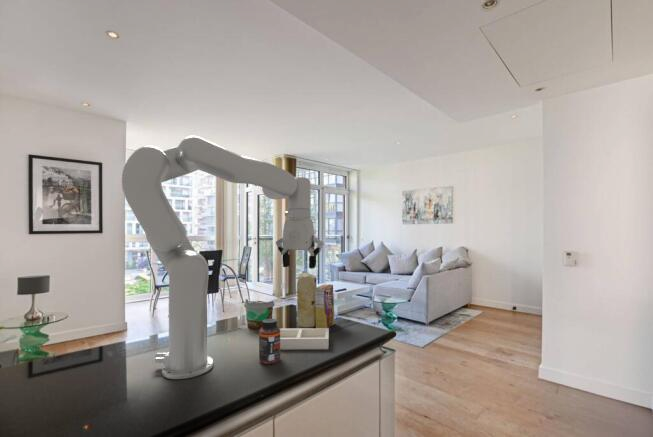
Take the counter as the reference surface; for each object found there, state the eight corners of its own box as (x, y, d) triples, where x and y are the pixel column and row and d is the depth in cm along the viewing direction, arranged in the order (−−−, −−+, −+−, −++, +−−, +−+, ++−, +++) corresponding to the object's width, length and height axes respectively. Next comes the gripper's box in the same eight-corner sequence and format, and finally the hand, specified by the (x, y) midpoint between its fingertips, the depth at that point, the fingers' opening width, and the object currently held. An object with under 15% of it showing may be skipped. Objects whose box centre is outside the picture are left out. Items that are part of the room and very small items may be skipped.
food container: (237, 329, 117) (237, 302, 117) (246, 324, 122) (246, 298, 123) (267, 332, 113) (267, 304, 113) (274, 326, 119) (274, 300, 119)
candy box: (324, 322, 123) (324, 283, 124) (334, 323, 121) (334, 284, 122) (314, 329, 115) (314, 287, 116) (325, 330, 113) (324, 288, 114)
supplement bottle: (277, 365, 85) (277, 323, 86) (256, 364, 86) (256, 323, 86) (282, 356, 91) (282, 317, 92) (262, 356, 92) (262, 317, 92)
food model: (321, 326, 118) (321, 273, 119) (308, 330, 114) (307, 275, 114) (305, 321, 125) (305, 271, 126) (292, 325, 121) (291, 273, 121)
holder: (267, 349, 97) (267, 339, 97) (273, 338, 107) (273, 328, 107) (328, 349, 96) (328, 338, 96) (328, 337, 106) (328, 328, 106)
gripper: (270, 215, 103) (270, 267, 102) (317, 214, 96) (317, 270, 95) (282, 216, 110) (282, 265, 109) (327, 215, 103) (327, 267, 102)
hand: (299, 267), depth 102 cm, fingers open, 9 cm apart
